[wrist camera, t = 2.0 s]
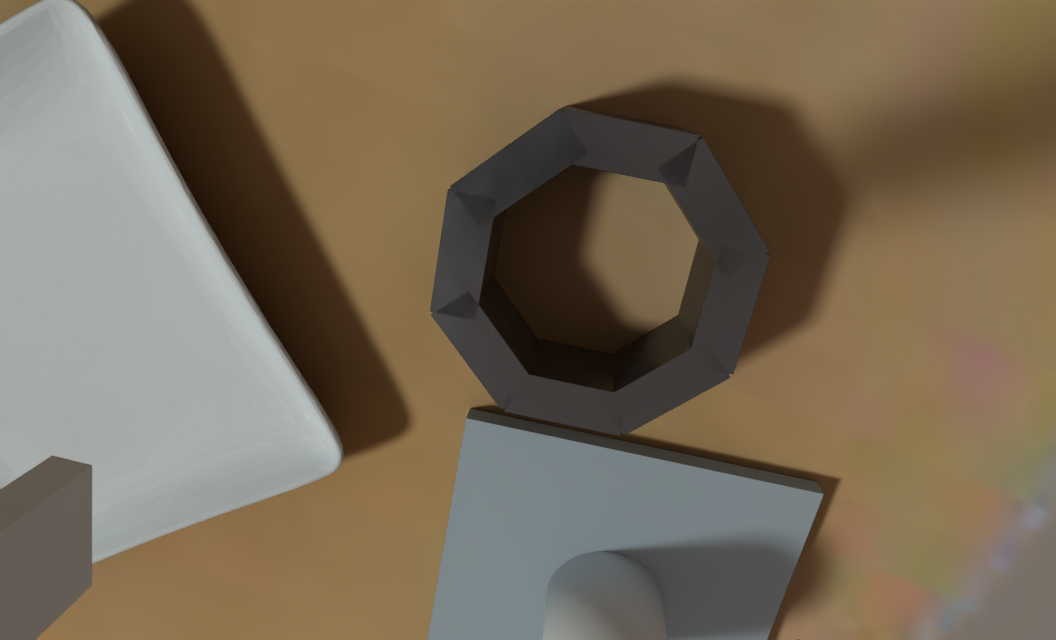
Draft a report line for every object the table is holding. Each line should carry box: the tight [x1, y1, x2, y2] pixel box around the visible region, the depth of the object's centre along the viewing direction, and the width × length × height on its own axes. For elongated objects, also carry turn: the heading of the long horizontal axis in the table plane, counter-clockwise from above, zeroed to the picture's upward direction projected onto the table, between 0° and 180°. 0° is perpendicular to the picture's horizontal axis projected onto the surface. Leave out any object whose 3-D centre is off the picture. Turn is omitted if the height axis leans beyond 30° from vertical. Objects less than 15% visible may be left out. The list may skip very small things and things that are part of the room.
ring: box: [430, 106, 771, 436], centre depth 26 cm, size 12×12×4 cm
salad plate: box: [0, 0, 344, 564], centre depth 30 cm, size 21×21×3 cm
